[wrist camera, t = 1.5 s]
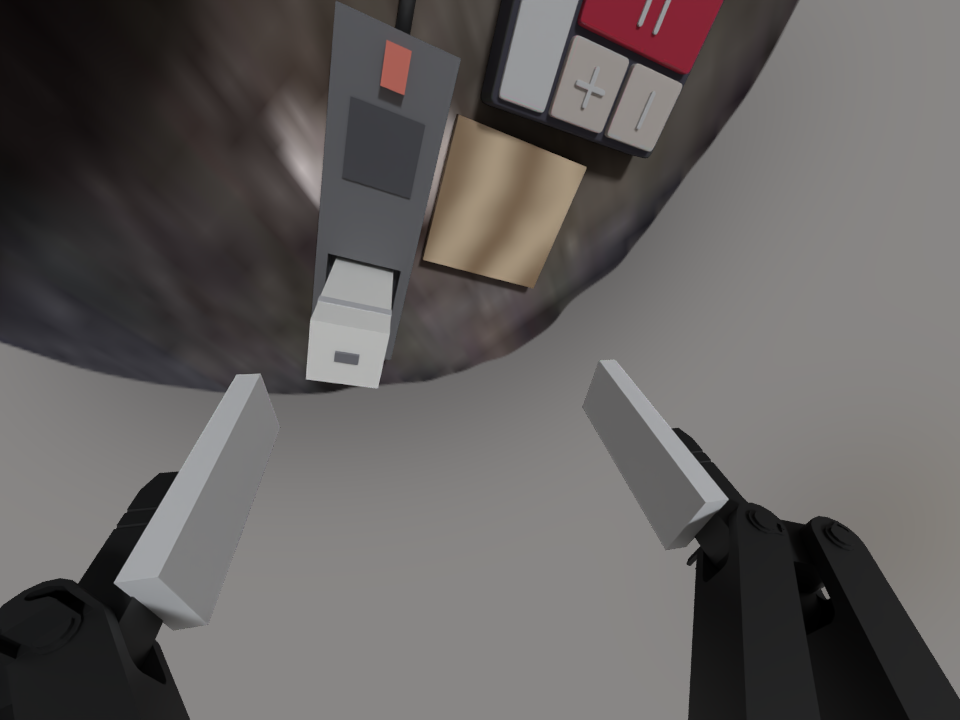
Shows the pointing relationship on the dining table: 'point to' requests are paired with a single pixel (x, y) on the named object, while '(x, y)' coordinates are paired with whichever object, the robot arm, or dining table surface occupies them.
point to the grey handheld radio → (380, 145)
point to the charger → (351, 325)
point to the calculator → (596, 65)
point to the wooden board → (499, 204)
